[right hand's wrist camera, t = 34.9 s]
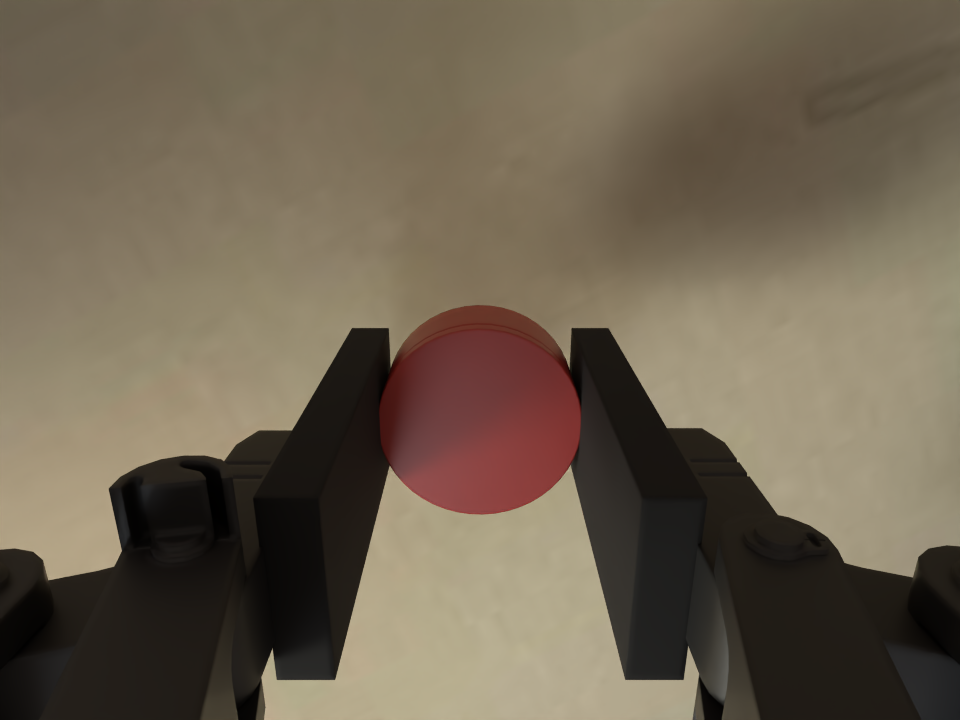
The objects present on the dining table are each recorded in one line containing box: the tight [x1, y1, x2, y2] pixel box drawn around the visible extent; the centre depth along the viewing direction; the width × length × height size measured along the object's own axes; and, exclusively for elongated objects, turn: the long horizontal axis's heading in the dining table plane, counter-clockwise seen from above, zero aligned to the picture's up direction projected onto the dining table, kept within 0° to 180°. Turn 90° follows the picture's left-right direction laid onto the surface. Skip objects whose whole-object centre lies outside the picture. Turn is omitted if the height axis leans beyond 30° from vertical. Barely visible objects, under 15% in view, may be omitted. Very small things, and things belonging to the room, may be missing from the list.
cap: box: [379, 305, 581, 514], centre depth 13 cm, size 4×4×2 cm
